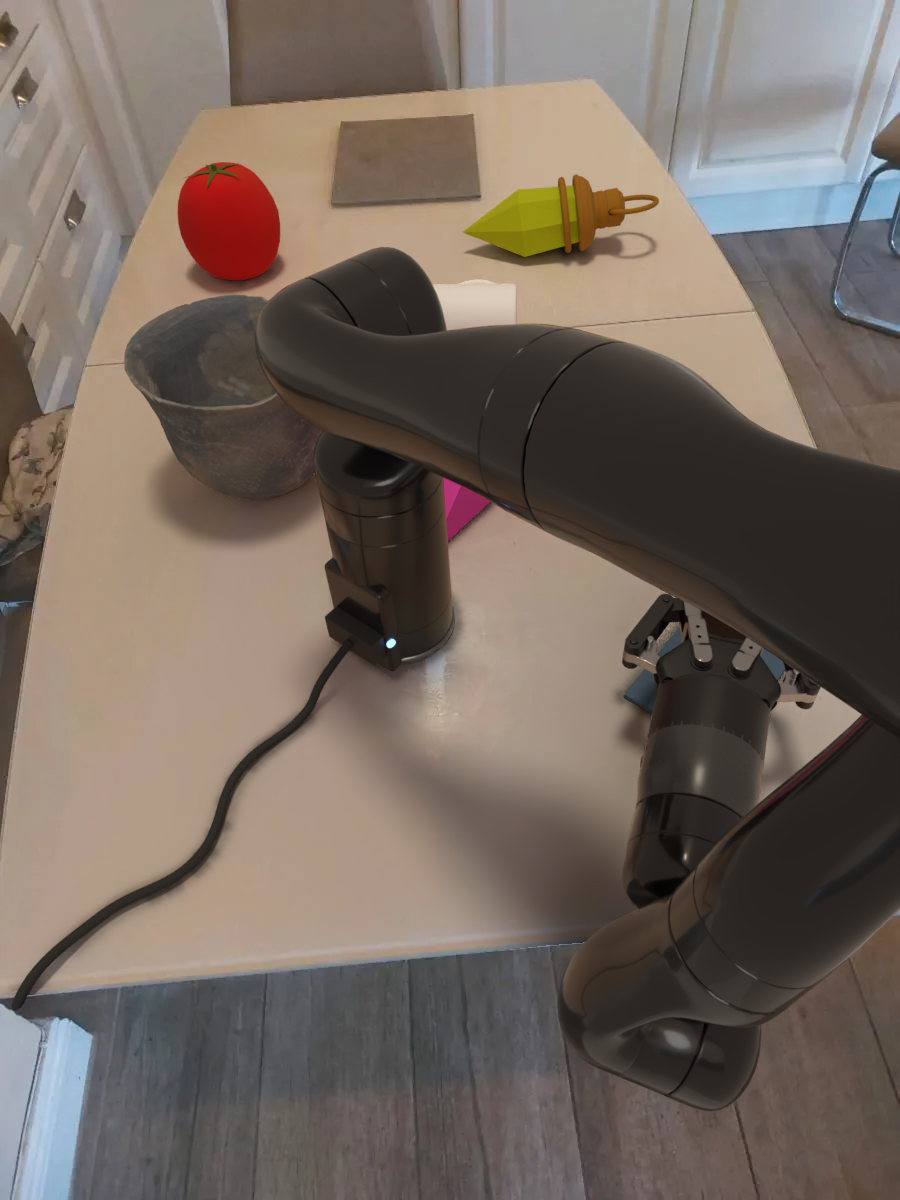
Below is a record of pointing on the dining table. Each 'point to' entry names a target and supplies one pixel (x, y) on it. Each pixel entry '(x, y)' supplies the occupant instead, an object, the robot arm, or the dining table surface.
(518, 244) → the plumb bob
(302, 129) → the dining table surface
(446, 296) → the mug
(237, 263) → the tomato
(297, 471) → the grey deep bowl
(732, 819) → the robot arm
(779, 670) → the blue mat
